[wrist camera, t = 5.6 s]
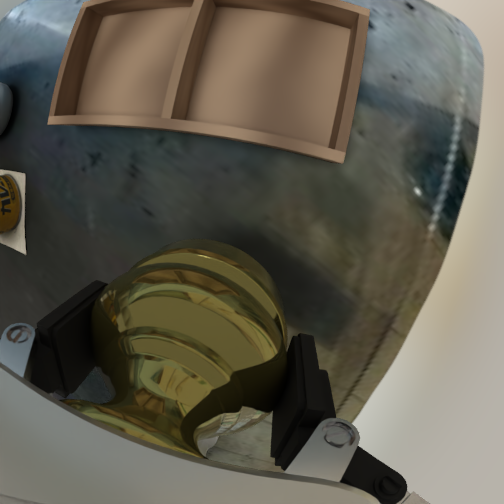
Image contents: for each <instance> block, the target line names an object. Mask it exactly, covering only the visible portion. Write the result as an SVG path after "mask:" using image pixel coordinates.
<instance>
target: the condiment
mask: <svg viewBox="0 0 504 504" xmlns="http://www.w3.org/2000/svg"><path fill="white" fill-rule="evenodd" d="M24 220H25V173H19V172H14V171H7V170H0V243H2V244H5V245H7V246H9V247H12V248H14V249H15V250H18V251H20V252H22V253H24V254H26V247H25V244H26V242H25V228H24V225H25V222H24ZM16 229H17V230H16ZM15 231H16V232H15ZM14 232H15V233H14Z"/></svg>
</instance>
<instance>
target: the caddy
mask: <svg viewBox="0 0 504 504" xmlns="http://www.w3.org/2000/svg"><path fill="white" fill-rule="evenodd" d="M369 13H370V10H369V9H366V8H363V7H360V6H357V5H354V4H351V3H347V2H344V1H340V0H90V1H87V2H83V5H82V7H81V9H80V11H79V14H78V16H77V19H76V21H75V24H74V26H73V29H72V32H71V34H70V37H69V40H68V43H67V46H66V49H65V52H64V55H63V59H62V62H61V66H60V69H59V73H58V77H57V81H56V85H55V89H54V93H53V98H52V103H51V108H50V113H49V119H48V125H73V126H109V127H127V128H141V129H153V130H163V131H172V132H181V133H189V134H196V135H203V136H210V137H216V138H222V139H228V140H234V141H240V142H245V143H250V144H255V145H260V146H265V147H270V148H275V149H279V150H284V151H288V152H292V153H296V154H301V155H305V156H309V157H313V158H316V159H320V160H324V161H328V162H331V163H342V164H343V162H344V158H345V153H346V149H347V144H348V140H349V135H350V130H351V126H352V121H353V116H354V111H355V106H356V100H357V95H358V89H359V84H360V78H361V72H362V65H363V59H364V52H365V45H366V38H367V30H368V22H369Z"/></svg>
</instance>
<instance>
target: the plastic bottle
mask: <svg viewBox="0 0 504 504" xmlns="http://www.w3.org/2000/svg"><path fill="white" fill-rule="evenodd" d="M12 108H13V94H12V92H11V90H10V88H9V87H8V86H7V85H6V84H4V83H1V82H0V135H1V134H2V133H3V132H4V130H5V129H6V127H7V125H8V123H9V120H10V117H11V113H12Z"/></svg>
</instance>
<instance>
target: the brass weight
mask: <svg viewBox="0 0 504 504" xmlns="http://www.w3.org/2000/svg"><path fill="white" fill-rule="evenodd" d="M88 337H89V345H90V350H91V354H92V357H93V360H94V363H95V365H96V367H97V369H98V371H99V373H100V375H101V377H102V378H103V380H104V383H105V385H106V387H107V389H108V391H109V393H110V394H111V397H112V400H111V401H109V402H107V403H104V404H97V403H93V402H89V401H84V400H76V399H64V400H59V401H61V402H63V403H64V404H66V405H68V406H70V407H72V408H74V409H76V410H77V411H79V412H81V413H83V414H85V415H87V416H89V417H91V418H93V419H95V420H97V421H100V422H102V423H104V424H106V425H108V426H110V427H112V428H115V429H117V430H120V431H122V432H125V433H127V434H129V435H132V436H135V437H137V438H140V439H142V440H145V441H148V442H151V443H154V444H157V445H159V446H162V447H165V448H169V449H172V450H175V451H178V452H182V453H185V454H189V455H192V456H196V457H200V458H204V459H207V458H206V457H205V456H203V455H202V453H201V452H200V450H199V448H198V441H200V440H203V439H210V438H214V437H217V436H224V435H230V434H234V433H237V432H240V431H243V430H246V429H248V428H250V427H252V426H254V425H256V424H257V423H259V422H260V421H262V420H263V419H265V418H266V417H267V416H268V415H269V414H270V413H271V412H272V411H273V410H274V409H275V407H276V406H277V405H278V403H279V402H280V400H281V398H282V396H283V393H284V391H285V388H286V384H287V380H288V357H287V352H286V349H287V327H286V323H285V311H284V305H283V300H282V297H281V294H280V292H279V290H278V288H277V286H276V284H275V282H274V280H273V279H272V278H271V276H270V275H269V273H268V272H267V271H266V270H265V269H264V268H263V267H262V266H261V265H260V264H259V263H258V262H257V261H256V260H255V259H253V258H252V257H251V256H249V255H248V254H246V253H245V252H243V251H241V250H239V249H237V248H235V247H233V246H231V245H228V244H225V243H222V242H219V241H214V240H208V239H187V240H181V241H177V242H174V243H171V244H169V245H166V246H164V247H162V248H161V249H159V250H158V251H156V252H155V253H153V254H152V255H149V256H147V257H145V258H144V259H142V260H141V261H139V262H138V263H136V264H135V265H134V266H133V267H132V268H131V269H130V270H129V271H128V272H126V273H124V274H122V275H120V276H119V277H117V278H116V279H114V280H113V281H112V282H111V283H109V284H108V285H107V286H106V287H105V288H104V289H103V291H102V292H101V293H100V295H99V296H98V298H97V299H96V301H95V303H94V305H93V308H92V311H91V315H90V319H89V326H88ZM208 460H209V459H208Z"/></svg>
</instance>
